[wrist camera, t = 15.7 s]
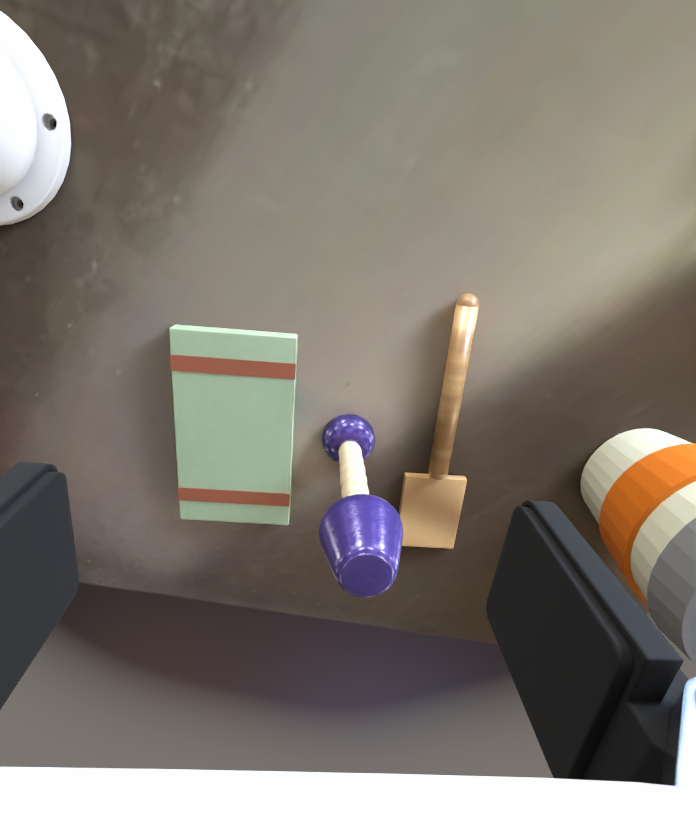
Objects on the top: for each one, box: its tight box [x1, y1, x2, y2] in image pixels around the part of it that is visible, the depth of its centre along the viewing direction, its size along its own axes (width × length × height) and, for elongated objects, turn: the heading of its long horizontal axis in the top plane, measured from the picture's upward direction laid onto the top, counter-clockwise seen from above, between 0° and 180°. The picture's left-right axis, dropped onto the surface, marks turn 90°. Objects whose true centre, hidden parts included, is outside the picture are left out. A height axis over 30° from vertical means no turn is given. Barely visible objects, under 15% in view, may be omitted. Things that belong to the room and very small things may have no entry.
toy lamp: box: [319, 415, 403, 598], centre depth 30 cm, size 5×5×17 cm
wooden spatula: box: [399, 294, 479, 549], centre depth 37 cm, size 22×5×2 cm, turn 175°
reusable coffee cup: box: [580, 428, 696, 665], centre depth 33 cm, size 13×13×15 cm
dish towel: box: [169, 325, 298, 525], centre depth 37 cm, size 9×16×2 cm, turn 175°
